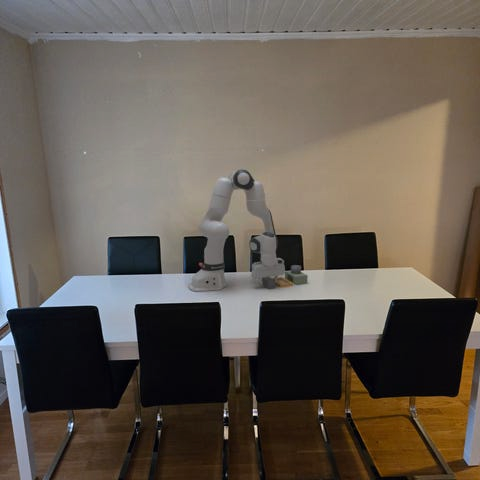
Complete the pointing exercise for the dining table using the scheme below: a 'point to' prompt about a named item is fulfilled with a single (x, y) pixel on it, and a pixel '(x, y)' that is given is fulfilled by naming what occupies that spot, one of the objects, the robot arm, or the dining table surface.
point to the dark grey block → (269, 282)
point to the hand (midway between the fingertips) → (268, 283)
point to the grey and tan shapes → (293, 277)
